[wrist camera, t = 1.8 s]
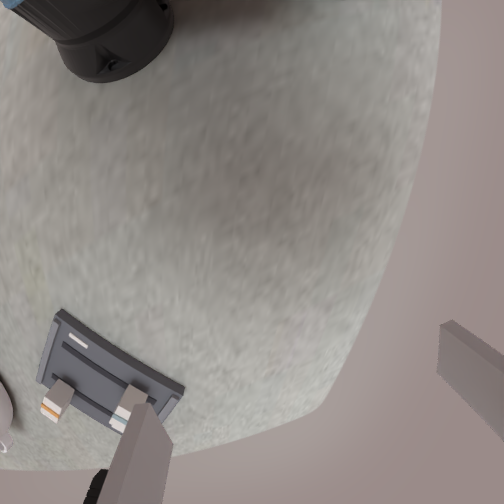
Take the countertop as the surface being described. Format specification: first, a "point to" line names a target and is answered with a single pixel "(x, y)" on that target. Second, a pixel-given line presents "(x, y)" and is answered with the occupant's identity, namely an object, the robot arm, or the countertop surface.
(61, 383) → the fader low
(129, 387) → the fader high
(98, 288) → the countertop surface
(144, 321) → the countertop surface
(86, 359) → the console
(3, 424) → the pot
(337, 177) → the countertop surface
